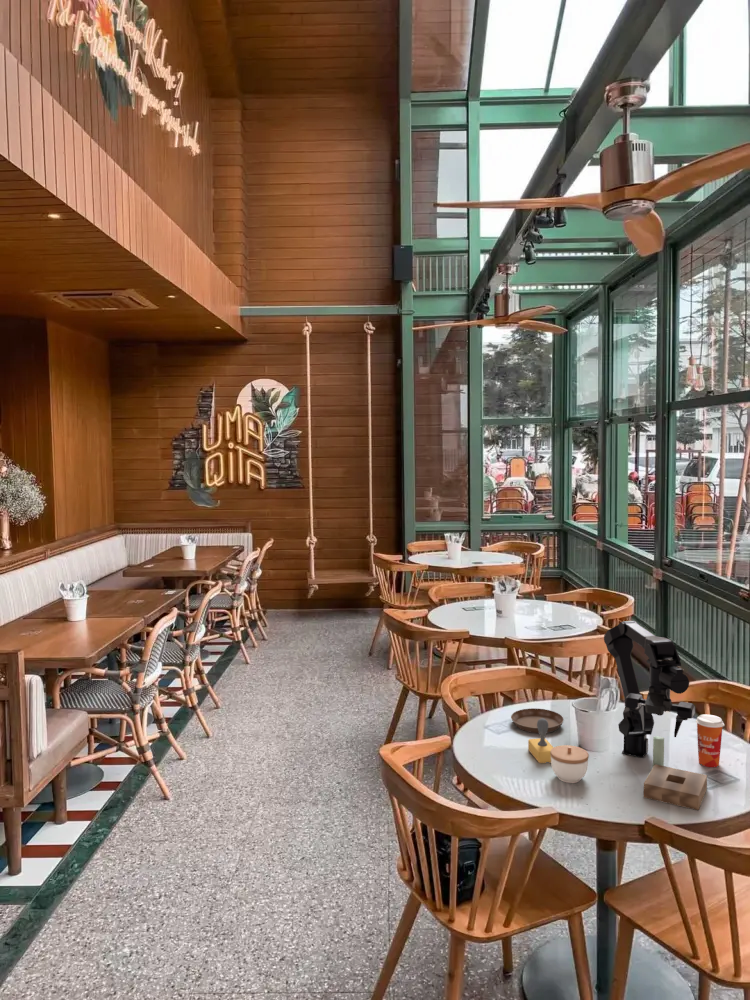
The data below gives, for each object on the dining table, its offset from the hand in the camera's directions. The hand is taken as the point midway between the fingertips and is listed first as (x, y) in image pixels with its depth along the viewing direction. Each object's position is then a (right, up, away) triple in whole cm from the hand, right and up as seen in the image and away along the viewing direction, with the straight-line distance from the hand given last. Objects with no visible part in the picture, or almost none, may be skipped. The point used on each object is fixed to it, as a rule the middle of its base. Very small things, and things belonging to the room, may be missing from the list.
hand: (658, 733), depth 220 cm
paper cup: (+17, -11, +5) cm, 21 cm away
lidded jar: (-27, -12, -3) cm, 30 cm away
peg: (0, -11, +1) cm, 11 cm away
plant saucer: (-28, -9, +37) cm, 47 cm away
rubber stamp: (-32, -11, +13) cm, 36 cm away
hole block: (0, -12, -13) cm, 18 cm away
